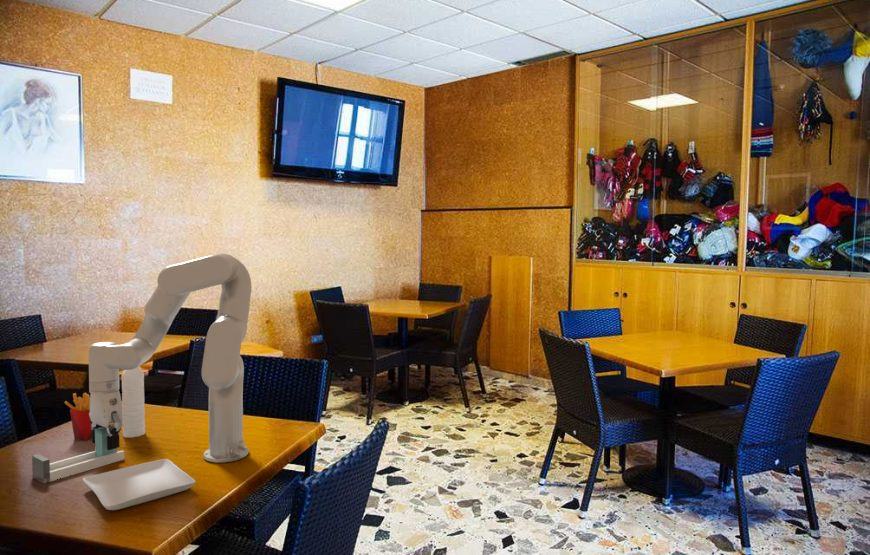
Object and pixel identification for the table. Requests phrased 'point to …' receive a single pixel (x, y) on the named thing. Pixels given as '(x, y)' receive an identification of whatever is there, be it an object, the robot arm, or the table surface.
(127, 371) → the water bottle
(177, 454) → the table surface
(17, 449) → the table surface
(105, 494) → the salad plate
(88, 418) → the french fries
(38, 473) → the channel
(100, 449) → the block
